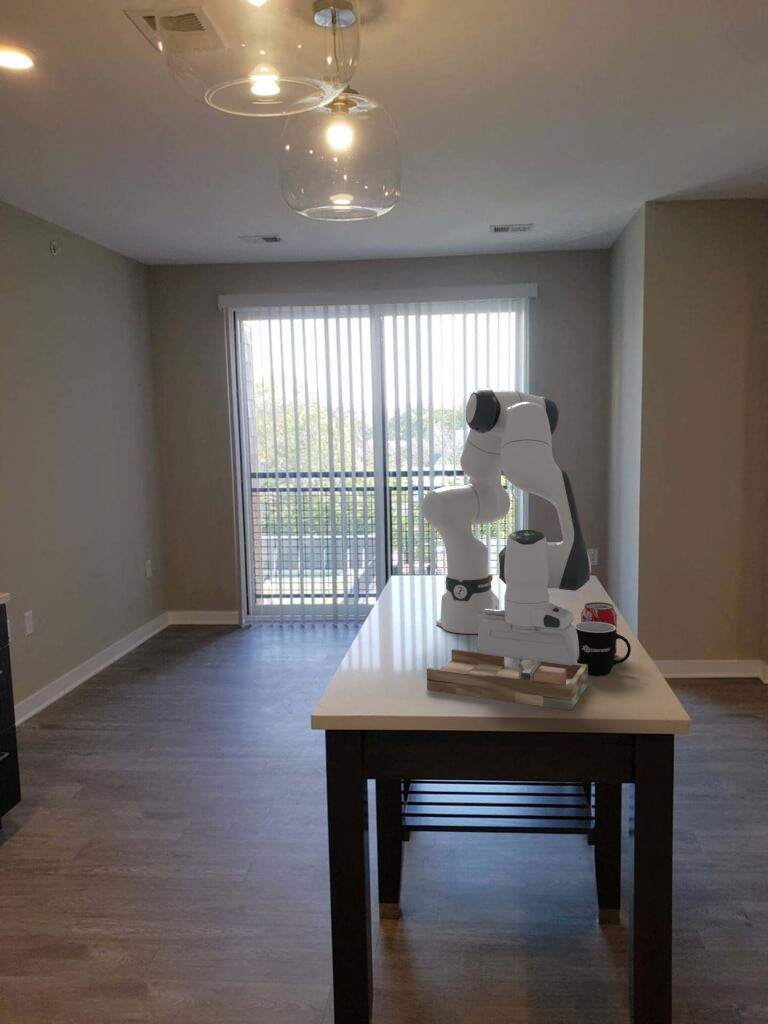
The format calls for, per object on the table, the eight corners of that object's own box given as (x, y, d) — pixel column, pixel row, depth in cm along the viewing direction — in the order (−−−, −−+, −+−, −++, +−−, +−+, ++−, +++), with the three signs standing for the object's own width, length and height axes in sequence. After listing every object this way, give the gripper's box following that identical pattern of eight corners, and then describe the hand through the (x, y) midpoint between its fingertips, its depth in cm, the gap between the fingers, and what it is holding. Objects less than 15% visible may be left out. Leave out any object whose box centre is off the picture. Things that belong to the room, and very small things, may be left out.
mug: (574, 677, 162) (574, 631, 161) (573, 664, 171) (573, 620, 170) (632, 680, 159) (632, 633, 158) (628, 666, 168) (629, 622, 167)
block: (541, 685, 152) (541, 665, 151) (566, 688, 149) (566, 668, 149) (534, 692, 147) (534, 673, 147) (559, 696, 145) (559, 676, 145)
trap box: (453, 668, 170) (453, 649, 170) (587, 685, 157) (587, 664, 156) (427, 689, 157) (426, 668, 156) (571, 710, 143) (571, 687, 143)
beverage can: (616, 661, 172) (617, 610, 171) (580, 659, 174) (580, 608, 173) (616, 651, 180) (616, 602, 178) (581, 649, 182) (581, 600, 181)
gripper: (472, 611, 151) (472, 677, 153) (573, 621, 142) (573, 692, 143) (483, 604, 157) (483, 668, 158) (581, 614, 147) (581, 682, 149)
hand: (526, 680), depth 151 cm, fingers closed
